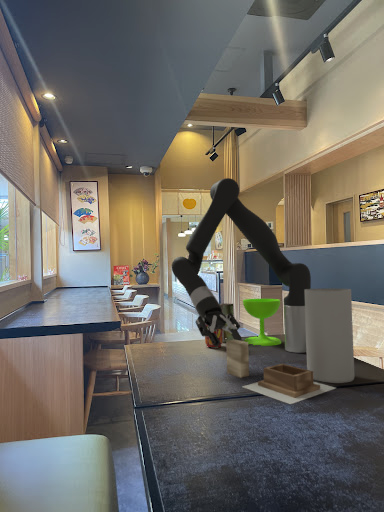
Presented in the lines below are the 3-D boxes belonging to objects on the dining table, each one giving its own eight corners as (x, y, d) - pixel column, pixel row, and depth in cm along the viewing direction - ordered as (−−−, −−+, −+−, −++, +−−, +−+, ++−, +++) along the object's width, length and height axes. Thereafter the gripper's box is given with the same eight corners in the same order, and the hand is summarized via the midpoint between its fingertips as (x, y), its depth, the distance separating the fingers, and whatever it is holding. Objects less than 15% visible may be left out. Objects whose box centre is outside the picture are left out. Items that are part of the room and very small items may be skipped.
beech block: (235, 372, 110) (234, 339, 110) (249, 377, 105) (248, 342, 105) (227, 374, 108) (226, 340, 108) (241, 379, 103) (240, 343, 103)
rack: (283, 378, 101) (282, 362, 101) (320, 389, 92) (319, 371, 92) (257, 385, 96) (257, 368, 96) (294, 397, 86) (294, 378, 86)
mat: (286, 375, 105) (286, 374, 105) (336, 389, 92) (336, 387, 92) (241, 388, 95) (241, 386, 95) (290, 405, 82) (290, 404, 82)
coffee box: (222, 338, 166) (222, 303, 167) (235, 339, 162) (234, 303, 163) (211, 341, 159) (211, 304, 159) (224, 342, 155) (223, 305, 156)
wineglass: (253, 347, 145) (252, 302, 146) (237, 340, 160) (236, 299, 161) (288, 344, 150) (287, 300, 150) (270, 337, 165) (268, 298, 166)
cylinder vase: (359, 385, 95) (355, 290, 96) (310, 383, 97) (307, 291, 98) (349, 372, 107) (345, 288, 108) (305, 370, 110) (302, 288, 111)
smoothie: (200, 346, 149) (199, 297, 150) (217, 344, 153) (216, 296, 153) (209, 349, 142) (208, 298, 142) (227, 347, 145) (226, 297, 146)
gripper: (192, 296, 113) (216, 338, 103) (226, 294, 121) (252, 333, 111) (183, 312, 117) (205, 354, 107) (217, 309, 125) (240, 347, 116)
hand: (229, 343), depth 109 cm, fingers open, 8 cm apart
